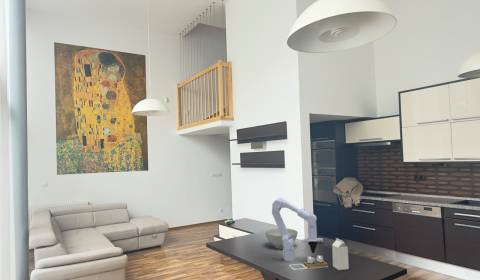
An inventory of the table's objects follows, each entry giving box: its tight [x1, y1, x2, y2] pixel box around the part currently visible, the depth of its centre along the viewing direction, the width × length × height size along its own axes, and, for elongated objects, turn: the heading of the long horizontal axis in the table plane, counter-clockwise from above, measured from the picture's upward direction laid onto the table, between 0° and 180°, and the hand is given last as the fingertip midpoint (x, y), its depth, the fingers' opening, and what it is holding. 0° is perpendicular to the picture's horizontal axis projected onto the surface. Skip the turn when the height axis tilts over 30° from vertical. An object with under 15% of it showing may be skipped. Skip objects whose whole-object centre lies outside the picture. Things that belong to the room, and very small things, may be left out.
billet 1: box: [306, 255, 314, 265], centre depth 202 cm, size 4×4×6 cm
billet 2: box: [316, 254, 324, 264], centre depth 204 cm, size 4×4×6 cm
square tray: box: [288, 263, 308, 271], centre depth 202 cm, size 9×9×2 cm
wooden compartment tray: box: [303, 260, 329, 270], centre depth 203 cm, size 8×14×3 cm, turn 101°
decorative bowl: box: [264, 227, 299, 250], centre depth 255 cm, size 27×27×12 cm
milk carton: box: [331, 237, 350, 271], centre depth 199 cm, size 7×7×19 cm
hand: (313, 252), depth 211 cm, fingers closed
